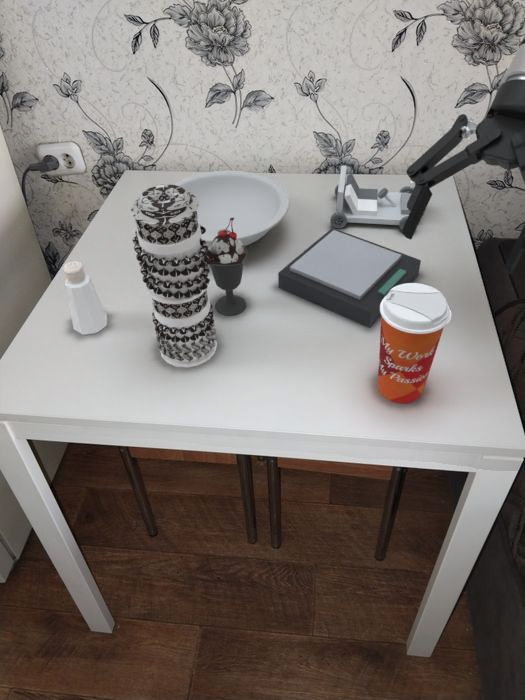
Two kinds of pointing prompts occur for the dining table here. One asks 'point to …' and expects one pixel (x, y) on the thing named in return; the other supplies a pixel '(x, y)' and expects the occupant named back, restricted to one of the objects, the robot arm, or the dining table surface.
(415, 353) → the coffee cup
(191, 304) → the decorative candle
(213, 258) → the sundae
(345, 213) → the toy car
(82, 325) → the pepper shaker
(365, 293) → the scale
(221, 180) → the white bowl
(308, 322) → the dining table surface
